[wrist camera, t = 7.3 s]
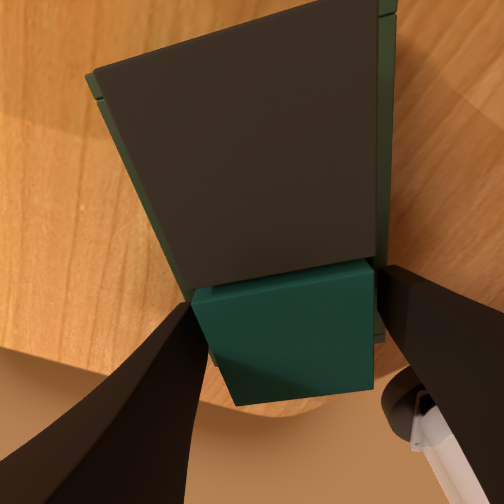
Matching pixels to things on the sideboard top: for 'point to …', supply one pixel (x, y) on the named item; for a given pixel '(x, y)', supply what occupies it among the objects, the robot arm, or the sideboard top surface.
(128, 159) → the frame
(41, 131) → the sideboard top surface
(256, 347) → the teal green block
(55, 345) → the sideboard top surface
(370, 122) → the dark brown block
